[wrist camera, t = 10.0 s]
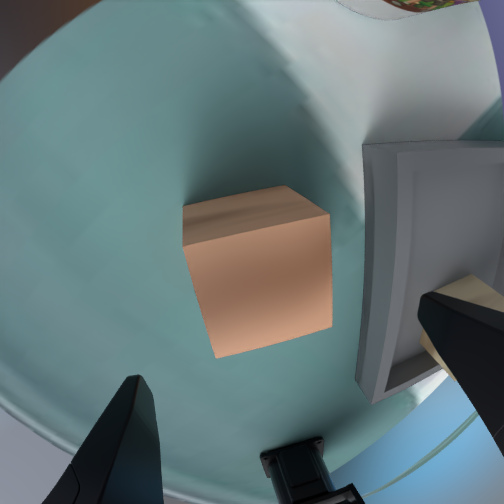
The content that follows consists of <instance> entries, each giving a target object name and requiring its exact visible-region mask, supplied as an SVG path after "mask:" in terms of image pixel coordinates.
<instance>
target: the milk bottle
mask: <svg viewBox="0 0 504 504" xmlns="http://www.w3.org/2000/svg"><path fill="white" fill-rule="evenodd" d="M336 1H338V2H339V3H340V4H342V5H343V6H345V7H347V8H349V9H351V10H352V11H354V12H357V13H360V14H362V15H364V16H368V17H372V18H376V19H381V20H397V19H402V18H406V17H410V16H413V15H417V14H420V13H424V12H428V11H432V10H436V9H440V8H444V7H448V6H453V5H458V4H463V3H468V2H473V1H479V0H336Z"/></svg>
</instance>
